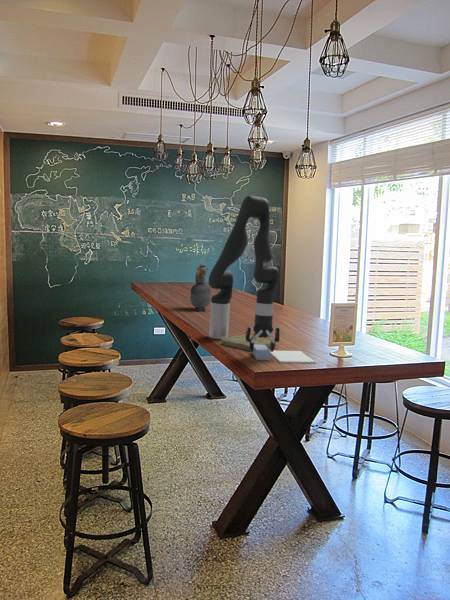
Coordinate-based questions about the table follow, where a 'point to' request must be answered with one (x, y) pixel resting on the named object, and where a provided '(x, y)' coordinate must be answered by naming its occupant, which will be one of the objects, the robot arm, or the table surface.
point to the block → (261, 352)
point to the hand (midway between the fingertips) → (261, 351)
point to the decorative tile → (244, 342)
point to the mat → (291, 357)
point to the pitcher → (200, 290)
